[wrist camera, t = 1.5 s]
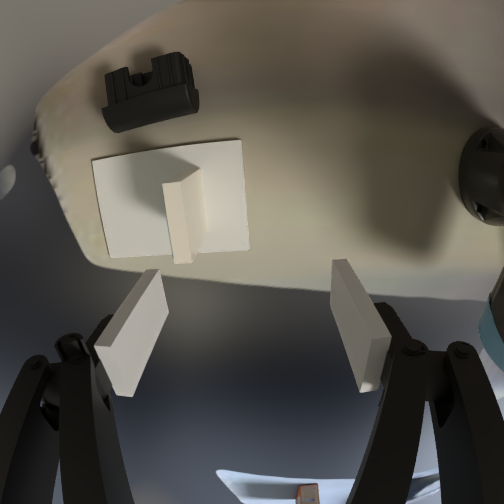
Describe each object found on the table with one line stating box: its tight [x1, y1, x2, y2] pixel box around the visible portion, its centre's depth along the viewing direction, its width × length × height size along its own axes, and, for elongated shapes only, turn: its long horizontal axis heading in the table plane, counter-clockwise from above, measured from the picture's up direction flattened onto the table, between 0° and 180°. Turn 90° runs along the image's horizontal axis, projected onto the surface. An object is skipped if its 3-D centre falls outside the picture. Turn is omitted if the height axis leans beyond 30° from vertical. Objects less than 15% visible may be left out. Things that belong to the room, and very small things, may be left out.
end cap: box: [102, 52, 199, 133], centre depth 30 cm, size 10×7×7 cm
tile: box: [162, 168, 208, 264], centre depth 33 cm, size 2×8×10 cm, turn 4°
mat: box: [92, 140, 250, 258], centre depth 38 cm, size 20×14×1 cm
